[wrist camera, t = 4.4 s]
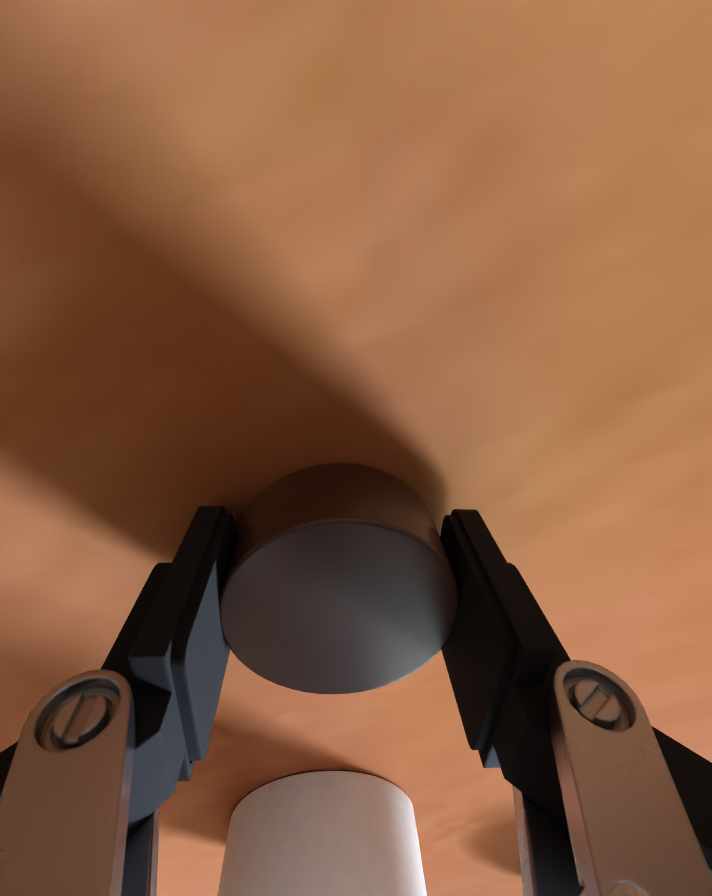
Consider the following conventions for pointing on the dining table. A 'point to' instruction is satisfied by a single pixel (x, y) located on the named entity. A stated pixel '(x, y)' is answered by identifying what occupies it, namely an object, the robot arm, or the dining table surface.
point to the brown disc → (338, 582)
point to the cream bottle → (323, 839)
